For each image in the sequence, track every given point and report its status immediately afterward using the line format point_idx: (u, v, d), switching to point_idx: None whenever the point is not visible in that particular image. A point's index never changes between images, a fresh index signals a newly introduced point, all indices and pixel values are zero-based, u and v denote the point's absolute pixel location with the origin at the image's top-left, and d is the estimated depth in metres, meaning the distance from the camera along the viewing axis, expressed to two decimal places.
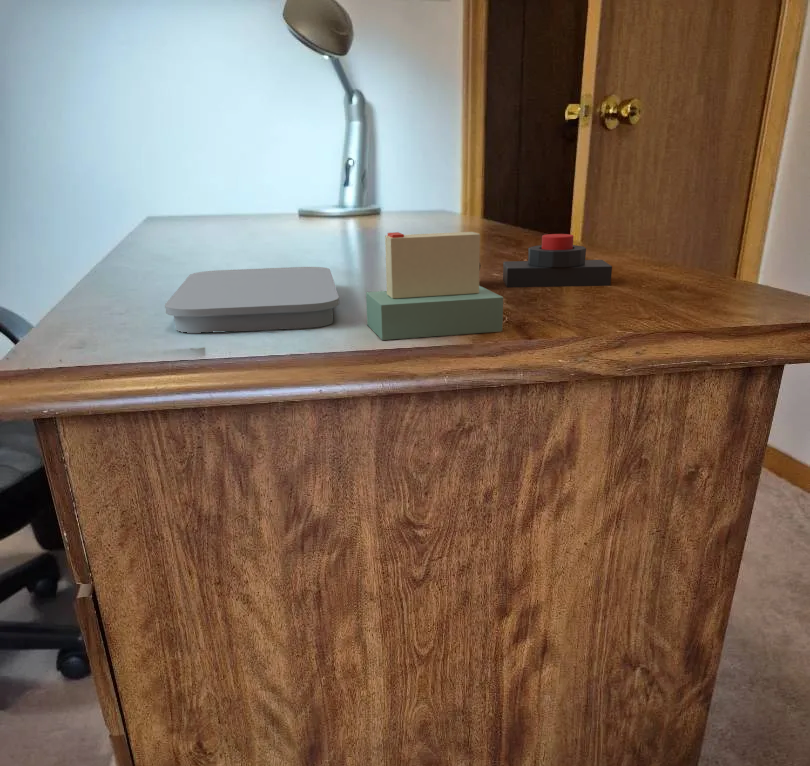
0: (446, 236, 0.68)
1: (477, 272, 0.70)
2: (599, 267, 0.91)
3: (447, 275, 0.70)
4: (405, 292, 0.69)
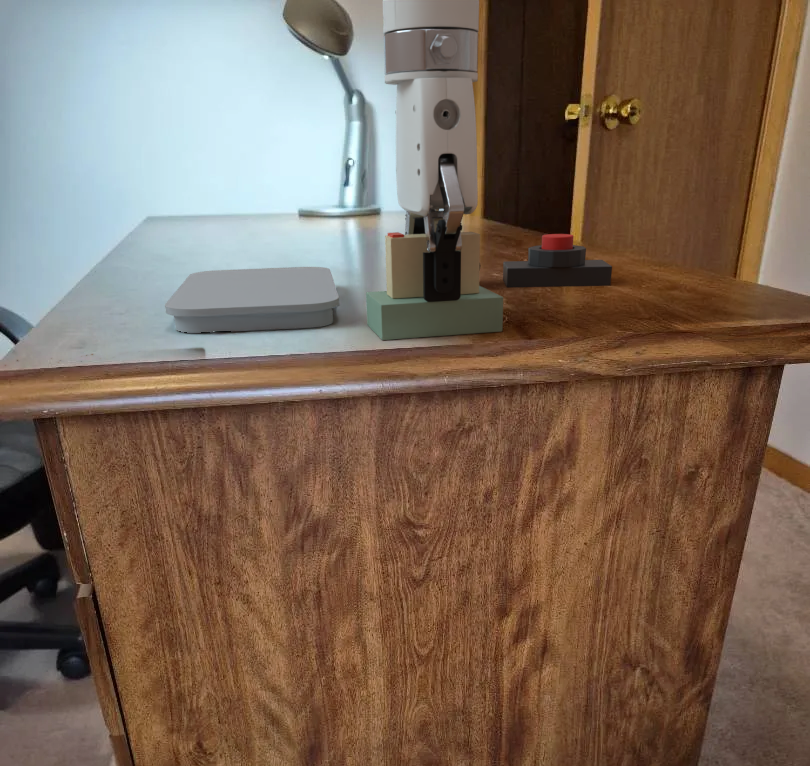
0: None
1: (477, 272, 0.70)
2: (599, 267, 0.91)
3: None
4: (405, 292, 0.69)
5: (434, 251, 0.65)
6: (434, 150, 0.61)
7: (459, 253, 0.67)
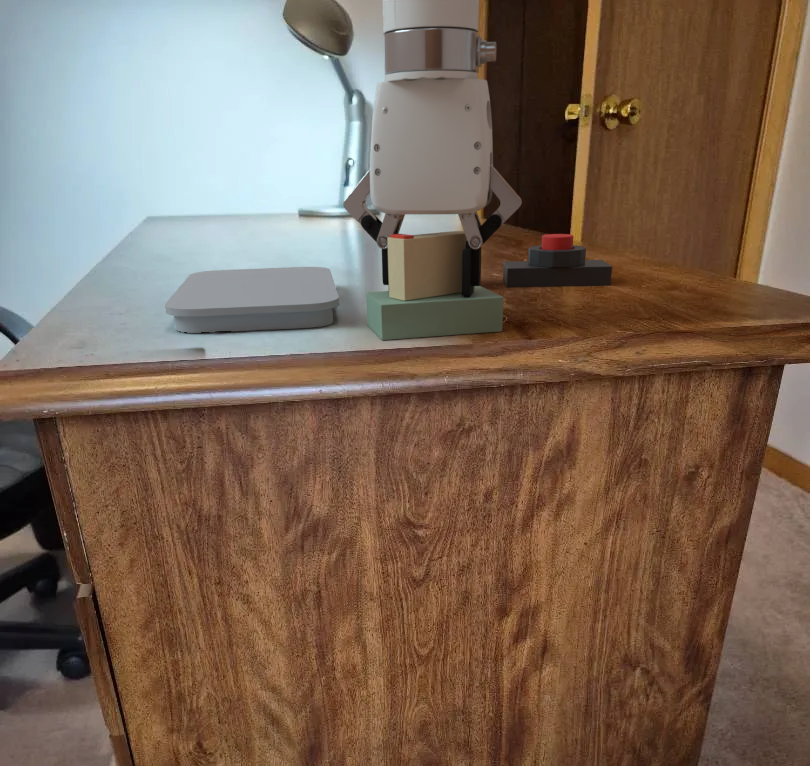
0: (449, 235, 0.69)
1: None
2: (599, 267, 0.91)
3: (450, 274, 0.70)
4: (415, 293, 0.69)
5: (480, 246, 0.68)
6: (488, 149, 0.64)
7: None
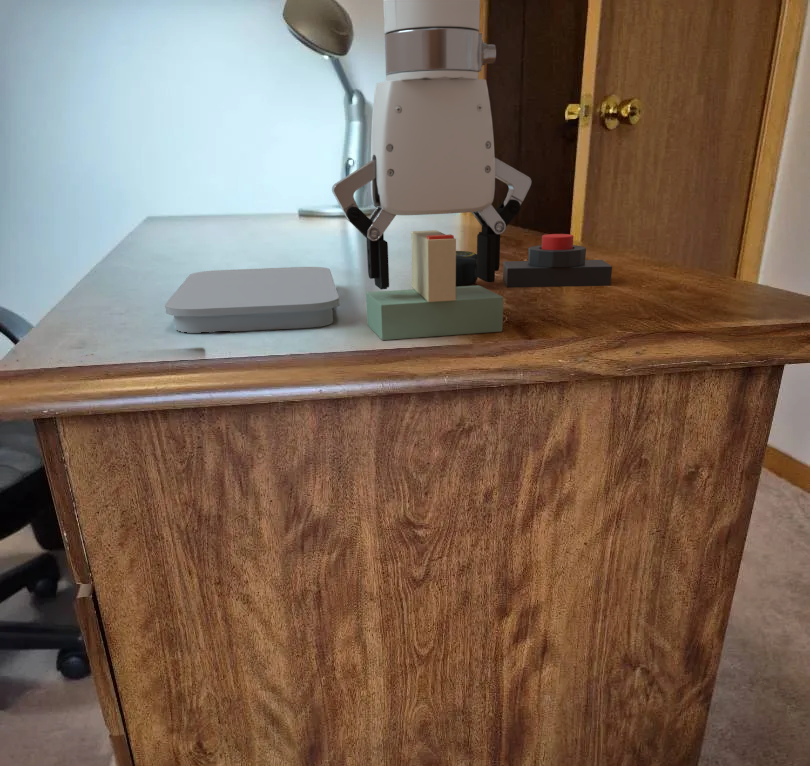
0: (443, 234, 0.70)
1: None
2: (599, 267, 0.91)
3: None
4: None
5: None
6: None
7: None
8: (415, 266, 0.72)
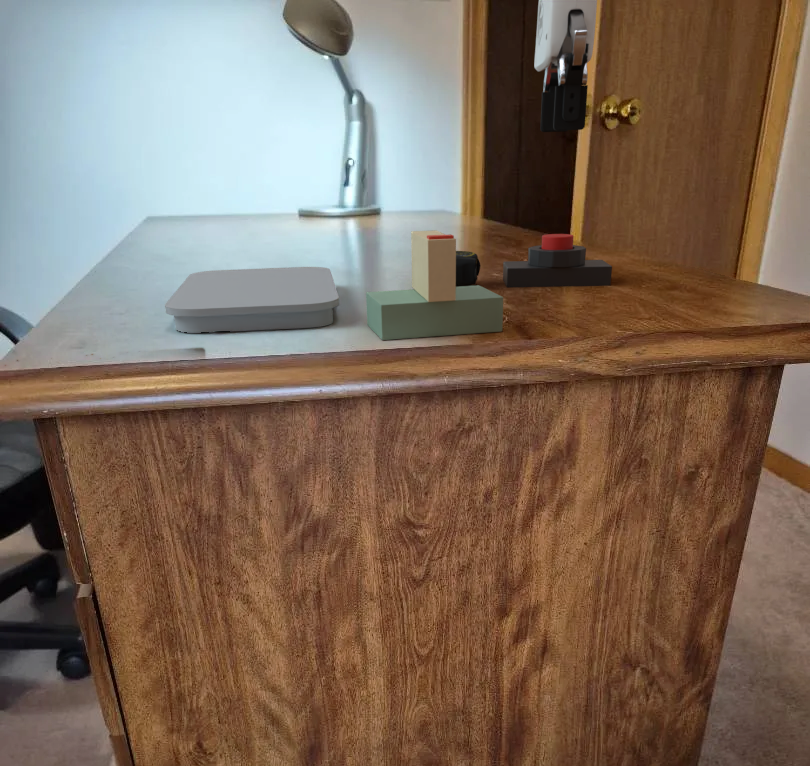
0: (443, 234, 0.70)
1: None
2: (599, 267, 0.91)
3: None
4: None
5: None
6: None
7: None
8: (415, 266, 0.72)
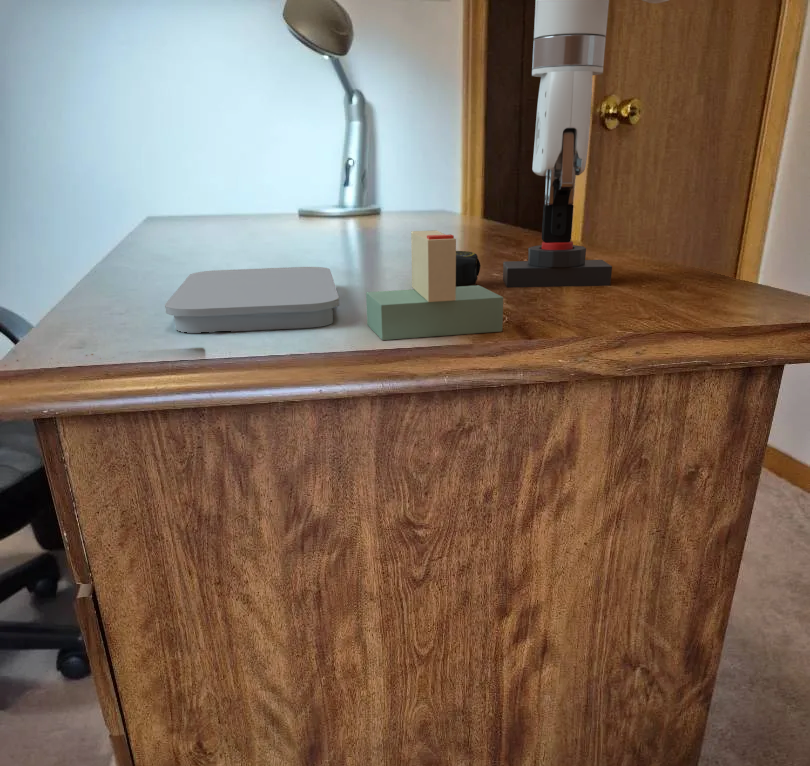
0: (443, 234, 0.70)
1: None
2: (599, 267, 0.91)
3: None
4: None
5: None
6: None
7: (544, 206, 0.91)
8: (415, 266, 0.72)
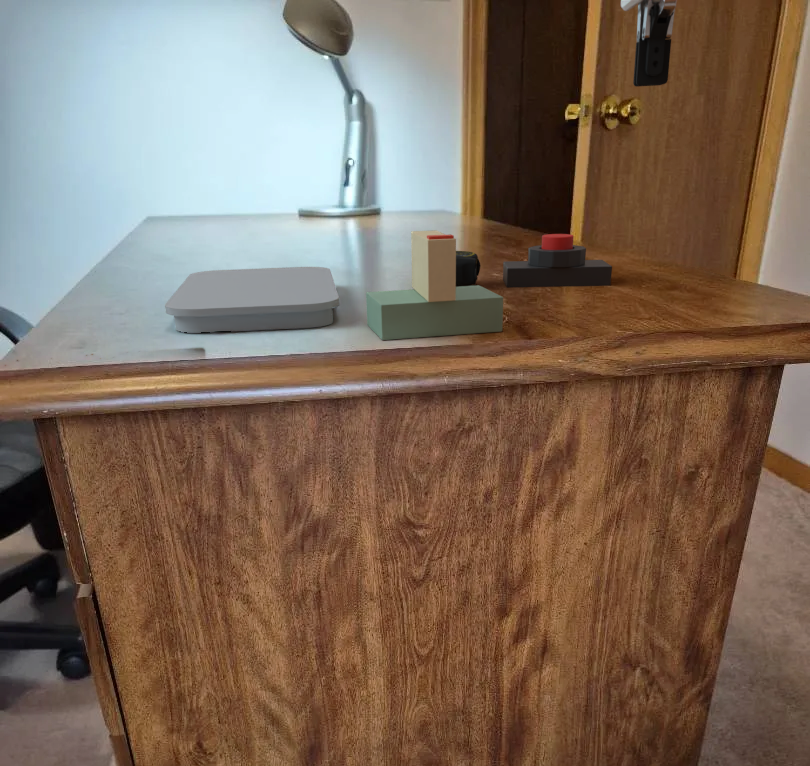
0: (443, 234, 0.70)
1: None
2: (599, 267, 0.91)
3: None
4: None
5: None
6: None
7: None
8: (415, 266, 0.72)
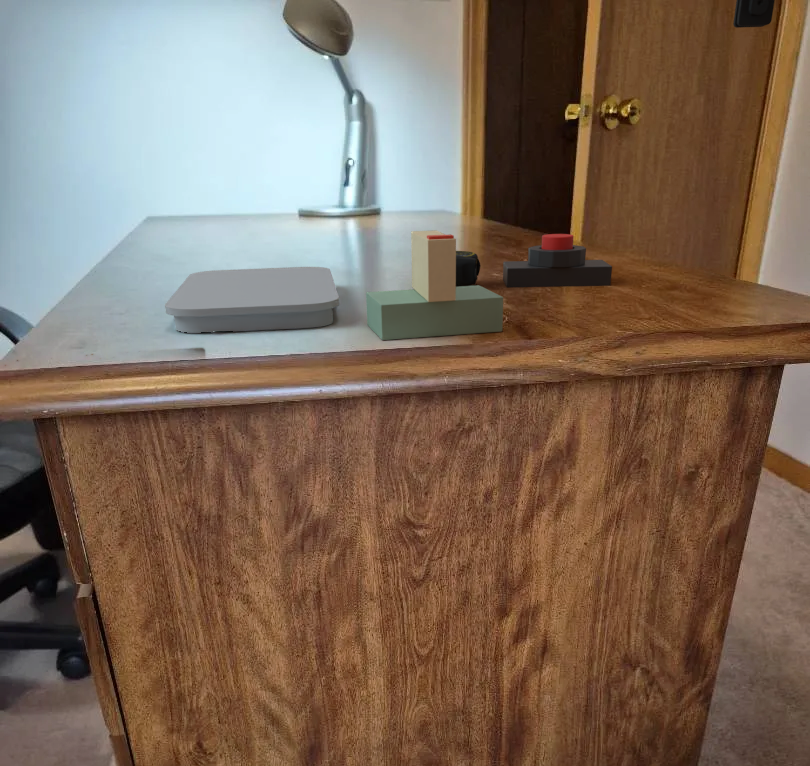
0: (443, 234, 0.70)
1: None
2: (599, 267, 0.91)
3: None
4: None
5: None
6: None
7: None
8: (415, 266, 0.72)
